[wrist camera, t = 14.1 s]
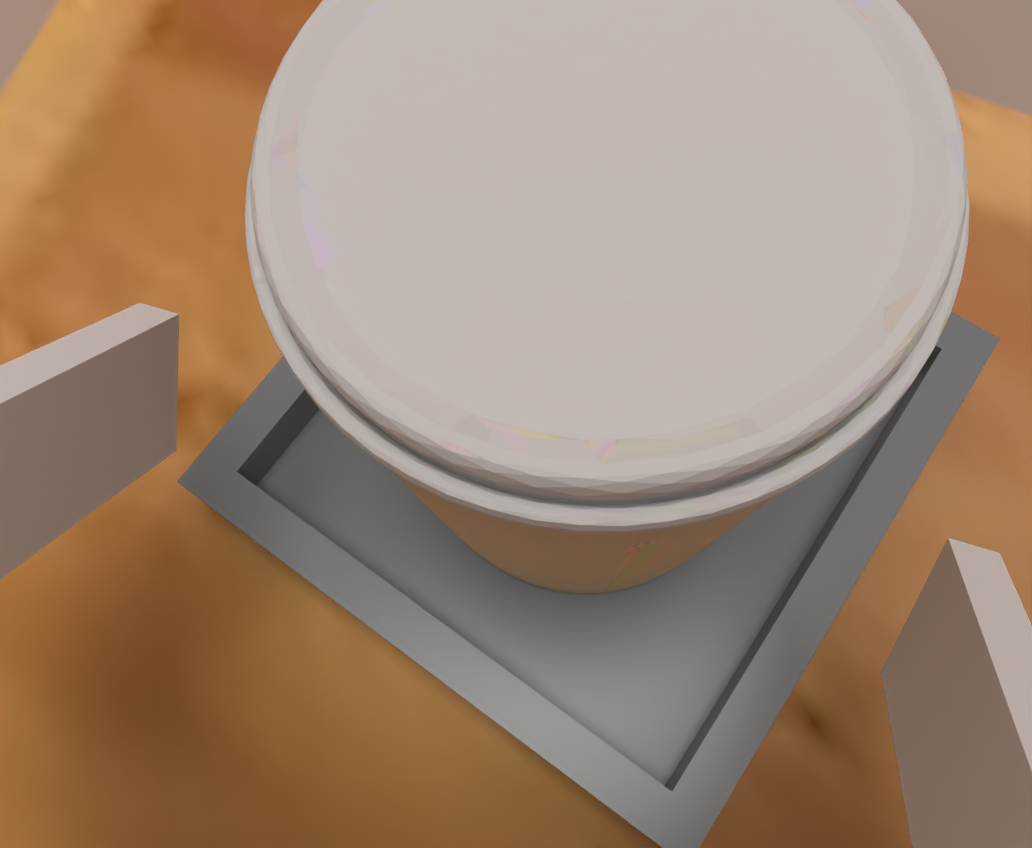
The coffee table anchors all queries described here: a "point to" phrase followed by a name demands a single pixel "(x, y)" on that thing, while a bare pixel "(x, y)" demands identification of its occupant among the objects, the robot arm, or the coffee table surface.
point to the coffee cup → (606, 256)
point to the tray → (590, 617)
